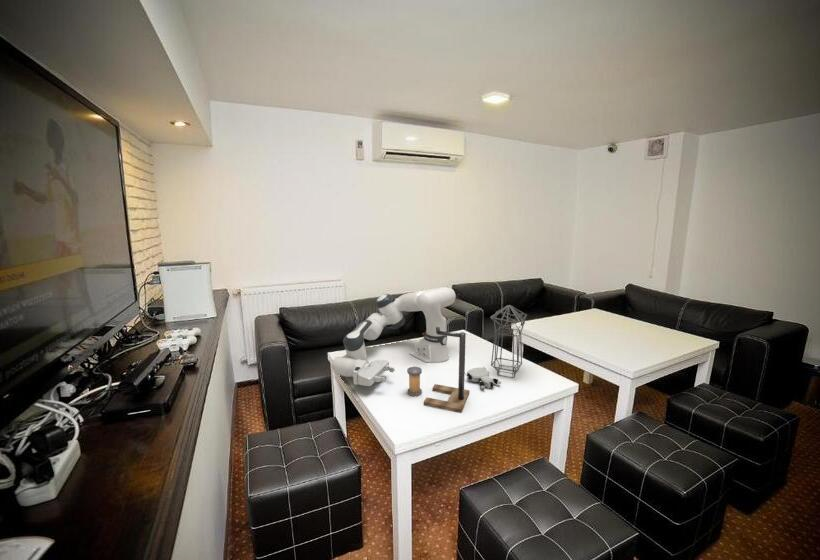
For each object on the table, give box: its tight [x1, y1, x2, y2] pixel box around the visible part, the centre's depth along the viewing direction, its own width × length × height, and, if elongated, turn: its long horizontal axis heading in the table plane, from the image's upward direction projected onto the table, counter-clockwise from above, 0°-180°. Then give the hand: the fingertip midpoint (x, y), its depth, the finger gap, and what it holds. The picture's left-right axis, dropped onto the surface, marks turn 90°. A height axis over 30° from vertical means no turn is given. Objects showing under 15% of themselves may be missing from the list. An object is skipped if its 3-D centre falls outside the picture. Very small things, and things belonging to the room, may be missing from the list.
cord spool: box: [406, 366, 423, 397], centre depth 148 cm, size 6×6×11 cm
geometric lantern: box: [489, 304, 528, 379], centre depth 164 cm, size 16×16×35 cm
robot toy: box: [465, 366, 502, 389], centre depth 158 cm, size 12×4×15 cm
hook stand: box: [436, 327, 467, 400], centre depth 140 cm, size 12×2×30 cm, turn 69°
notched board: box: [423, 383, 470, 414], centre depth 144 cm, size 16×16×2 cm
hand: (389, 374), depth 152 cm, fingers open, 8 cm apart
